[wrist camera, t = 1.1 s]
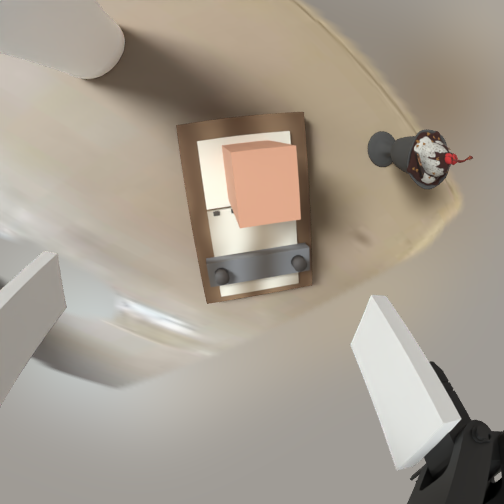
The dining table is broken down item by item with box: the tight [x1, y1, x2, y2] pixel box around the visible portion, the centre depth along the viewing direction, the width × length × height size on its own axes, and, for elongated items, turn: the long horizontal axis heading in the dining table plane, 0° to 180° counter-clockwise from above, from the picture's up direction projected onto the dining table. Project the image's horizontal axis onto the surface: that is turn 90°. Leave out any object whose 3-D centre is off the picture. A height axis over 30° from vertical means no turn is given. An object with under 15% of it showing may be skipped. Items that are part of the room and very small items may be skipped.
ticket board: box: [176, 112, 312, 304], centre depth 34 cm, size 14×22×6 cm, turn 6°
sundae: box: [368, 130, 473, 189], centre depth 30 cm, size 7×7×15 cm
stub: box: [197, 131, 301, 228], centre depth 28 cm, size 10×8×10 cm
